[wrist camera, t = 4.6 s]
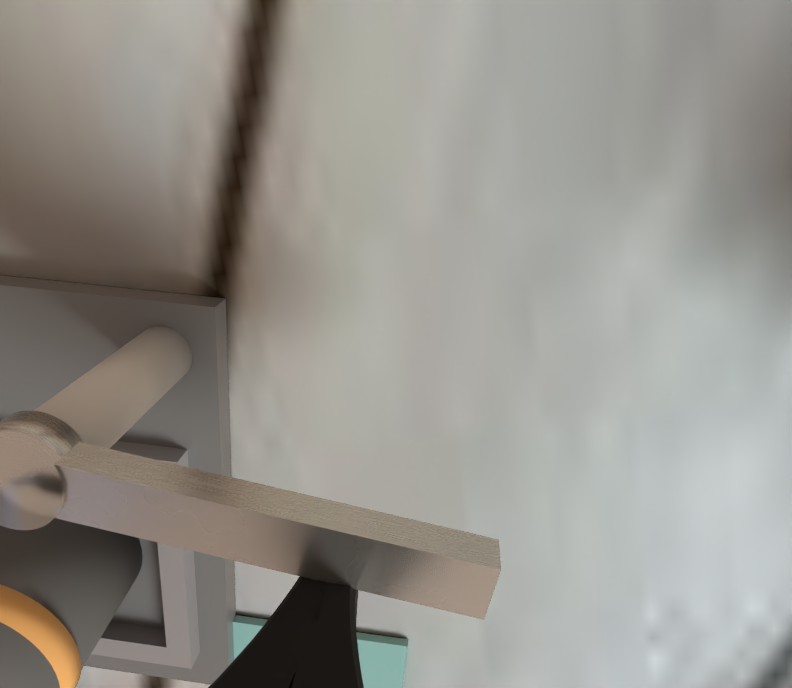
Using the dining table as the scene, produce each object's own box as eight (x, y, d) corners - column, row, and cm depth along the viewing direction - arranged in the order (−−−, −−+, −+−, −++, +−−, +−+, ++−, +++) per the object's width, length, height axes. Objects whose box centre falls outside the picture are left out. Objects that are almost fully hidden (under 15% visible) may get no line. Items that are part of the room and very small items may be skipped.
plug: (25, 602, 21) (-89, 748, 17) (-25, 485, 19) (-171, 614, 15) (161, 599, 21) (81, 750, 16) (123, 479, 19) (20, 611, 14)
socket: (1, 633, 23) (-143, 798, 18) (-80, 267, 18) (-320, 340, 12) (237, 667, 22) (163, 850, 17) (225, 298, 17) (113, 391, 12)
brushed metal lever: (-4, 485, 13) (-41, 516, 12) (-9, 400, 12) (-49, 425, 11) (477, 599, 12) (478, 640, 11) (503, 519, 12) (507, 555, 11)
